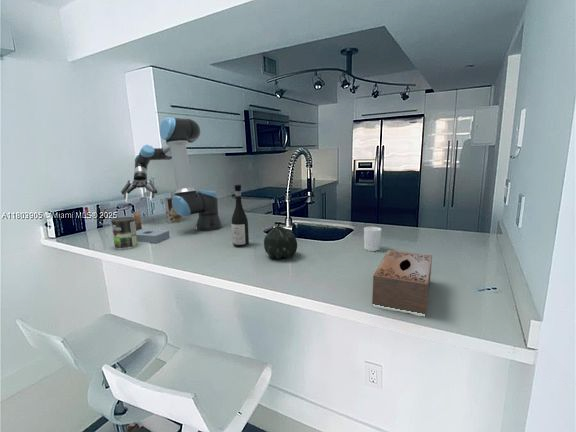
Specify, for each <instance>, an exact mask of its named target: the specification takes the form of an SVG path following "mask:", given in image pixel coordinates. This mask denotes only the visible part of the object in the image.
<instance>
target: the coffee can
mask: <svg viewBox="0 0 576 432" xmlns="http://www.w3.org/2000/svg"><path fill="white" fill-rule="evenodd" d="M110 222H111V227H112V228H111V229H112V234H113V235H112V237H113V242H114V243H113V244H114V249H115V250H121V251H122V250H130V249H134V248H136V247H137V246H138V242H137V238H136V227H135V218H134V217H133V216H123V217H115V218H113V219H111V220H110Z"/></svg>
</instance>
